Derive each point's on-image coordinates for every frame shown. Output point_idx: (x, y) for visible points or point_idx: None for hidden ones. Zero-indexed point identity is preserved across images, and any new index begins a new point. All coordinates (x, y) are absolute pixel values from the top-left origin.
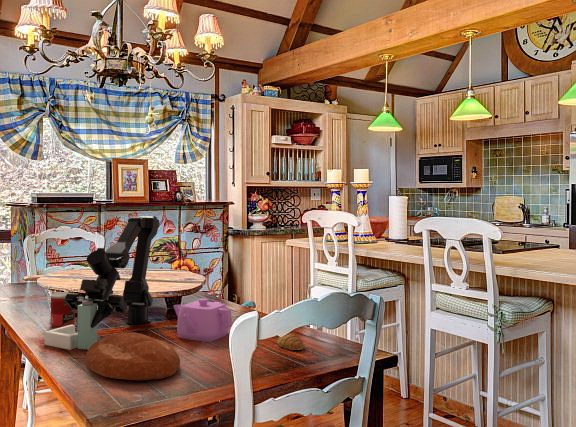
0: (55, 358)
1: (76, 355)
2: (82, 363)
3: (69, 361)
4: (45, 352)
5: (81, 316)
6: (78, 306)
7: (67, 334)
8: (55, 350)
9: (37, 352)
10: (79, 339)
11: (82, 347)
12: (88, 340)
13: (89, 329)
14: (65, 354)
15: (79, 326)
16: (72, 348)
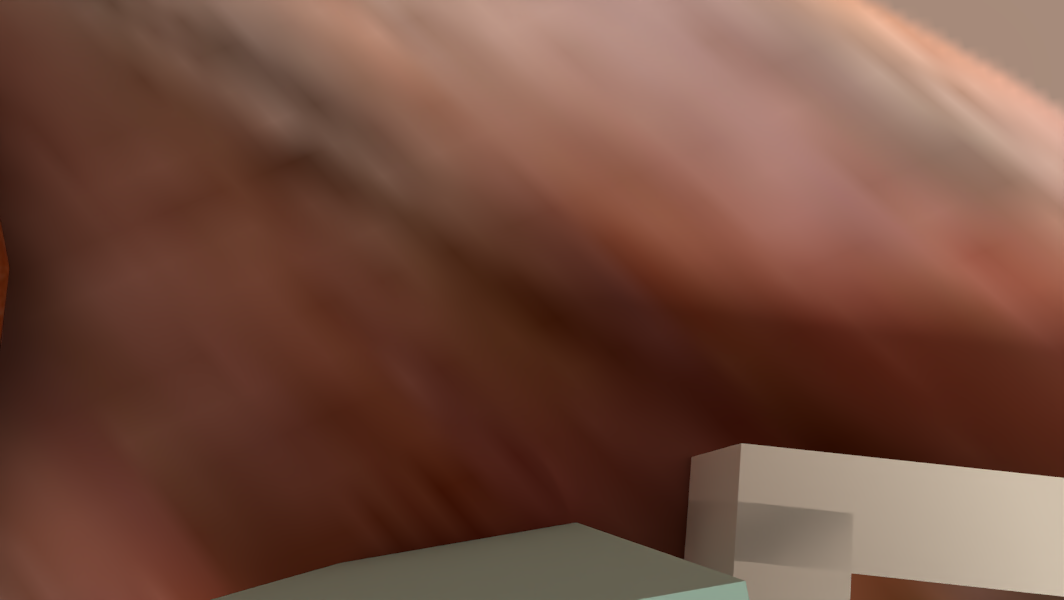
0: (559, 39)
1: (374, 265)
2: (40, 16)
3: (273, 14)
4: (931, 196)
5: (453, 574)
6: (660, 595)
7: (920, 555)
8: (879, 338)
9: (1040, 149)
10: (547, 532)
11: (485, 538)
12: (335, 567)
13: (238, 594)
14: (569, 238)
15: (549, 542)
16: (689, 514)
